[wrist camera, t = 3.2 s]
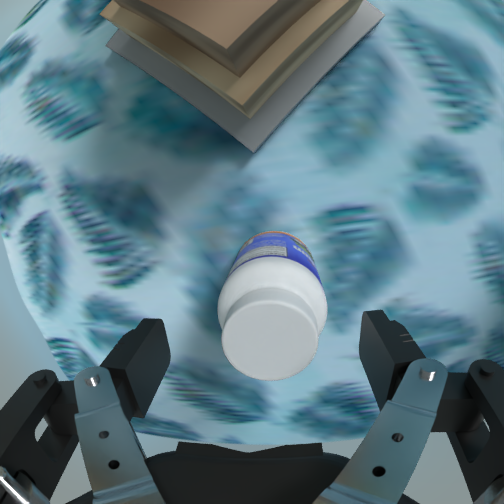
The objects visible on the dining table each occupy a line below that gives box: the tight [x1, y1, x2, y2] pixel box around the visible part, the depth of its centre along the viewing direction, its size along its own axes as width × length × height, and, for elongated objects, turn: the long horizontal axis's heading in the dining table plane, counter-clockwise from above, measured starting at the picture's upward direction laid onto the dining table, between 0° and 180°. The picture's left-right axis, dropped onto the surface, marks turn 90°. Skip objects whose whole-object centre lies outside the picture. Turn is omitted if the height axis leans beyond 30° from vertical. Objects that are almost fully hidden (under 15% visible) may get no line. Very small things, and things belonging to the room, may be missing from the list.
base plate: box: [105, 0, 385, 153], centre depth 16 cm, size 14×14×1 cm
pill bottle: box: [218, 231, 327, 381], centre depth 17 cm, size 5×5×10 cm
